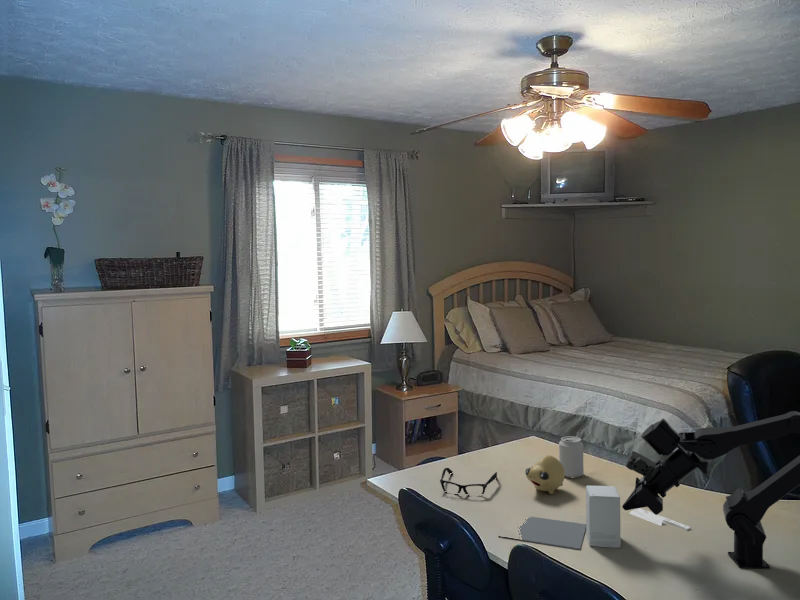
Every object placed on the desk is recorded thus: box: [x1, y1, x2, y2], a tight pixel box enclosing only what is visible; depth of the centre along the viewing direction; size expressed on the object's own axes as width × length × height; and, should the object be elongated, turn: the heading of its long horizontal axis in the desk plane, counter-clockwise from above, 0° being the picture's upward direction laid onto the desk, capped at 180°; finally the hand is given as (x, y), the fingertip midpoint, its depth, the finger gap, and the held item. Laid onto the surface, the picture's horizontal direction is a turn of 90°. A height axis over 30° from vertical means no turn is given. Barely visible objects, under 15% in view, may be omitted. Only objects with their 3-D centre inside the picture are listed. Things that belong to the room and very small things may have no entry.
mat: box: [518, 516, 586, 551], centre depth 154 cm, size 20×14×1 cm
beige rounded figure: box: [525, 454, 566, 495], centre depth 180 cm, size 10×12×11 cm
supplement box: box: [585, 485, 622, 549], centre depth 148 cm, size 7×7×13 cm
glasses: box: [439, 467, 498, 495], centre depth 187 cm, size 17×18×5 cm
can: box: [558, 435, 585, 478], centre depth 192 cm, size 8×8×12 cm
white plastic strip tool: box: [628, 508, 691, 531], centre depth 158 cm, size 5×15×1 cm, turn 33°
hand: (623, 508), depth 146 cm, fingers closed
